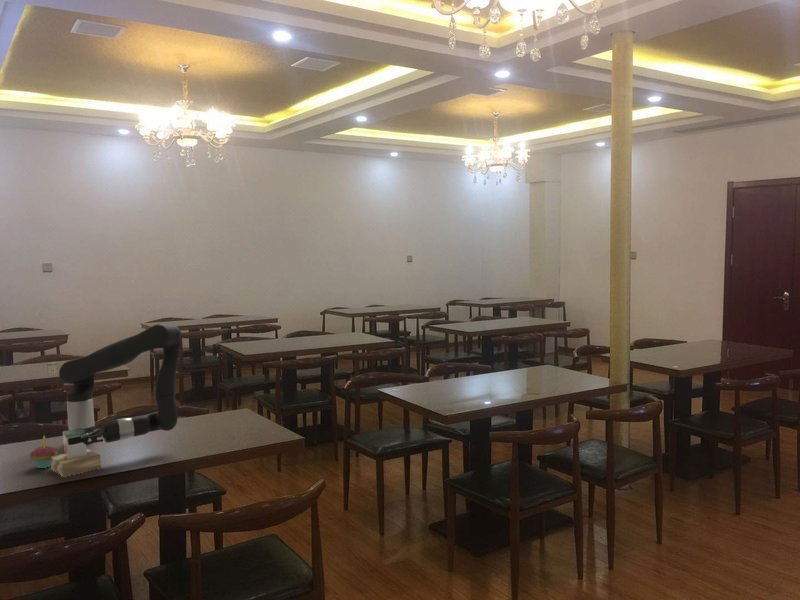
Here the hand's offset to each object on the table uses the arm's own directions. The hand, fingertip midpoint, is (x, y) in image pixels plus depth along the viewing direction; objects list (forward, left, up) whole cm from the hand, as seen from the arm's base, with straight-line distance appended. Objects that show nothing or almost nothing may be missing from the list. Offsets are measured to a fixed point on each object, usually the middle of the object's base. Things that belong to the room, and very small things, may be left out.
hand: (66, 439), depth 221 cm
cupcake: (-5, -11, -11) cm, 16 cm away
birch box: (-1, +2, -11) cm, 11 cm away
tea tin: (-1, +2, -6) cm, 7 cm away
